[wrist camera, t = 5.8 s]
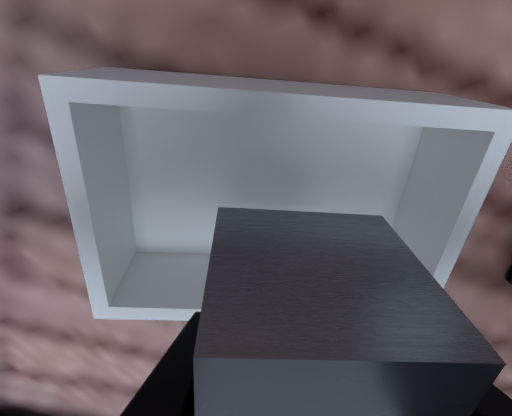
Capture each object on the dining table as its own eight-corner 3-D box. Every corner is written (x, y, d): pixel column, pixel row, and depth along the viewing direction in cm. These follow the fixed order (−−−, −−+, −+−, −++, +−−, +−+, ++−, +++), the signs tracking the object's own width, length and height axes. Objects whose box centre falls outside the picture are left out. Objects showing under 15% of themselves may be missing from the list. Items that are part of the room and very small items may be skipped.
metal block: (381, 215, 9) (506, 363, 5) (347, 330, 12) (411, 503, 7) (218, 206, 9) (192, 357, 5) (215, 327, 11) (197, 505, 7)
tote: (438, 92, 16) (525, 111, 11) (383, 261, 21) (426, 325, 16) (104, 66, 15) (37, 74, 10) (130, 252, 20) (93, 318, 15)
